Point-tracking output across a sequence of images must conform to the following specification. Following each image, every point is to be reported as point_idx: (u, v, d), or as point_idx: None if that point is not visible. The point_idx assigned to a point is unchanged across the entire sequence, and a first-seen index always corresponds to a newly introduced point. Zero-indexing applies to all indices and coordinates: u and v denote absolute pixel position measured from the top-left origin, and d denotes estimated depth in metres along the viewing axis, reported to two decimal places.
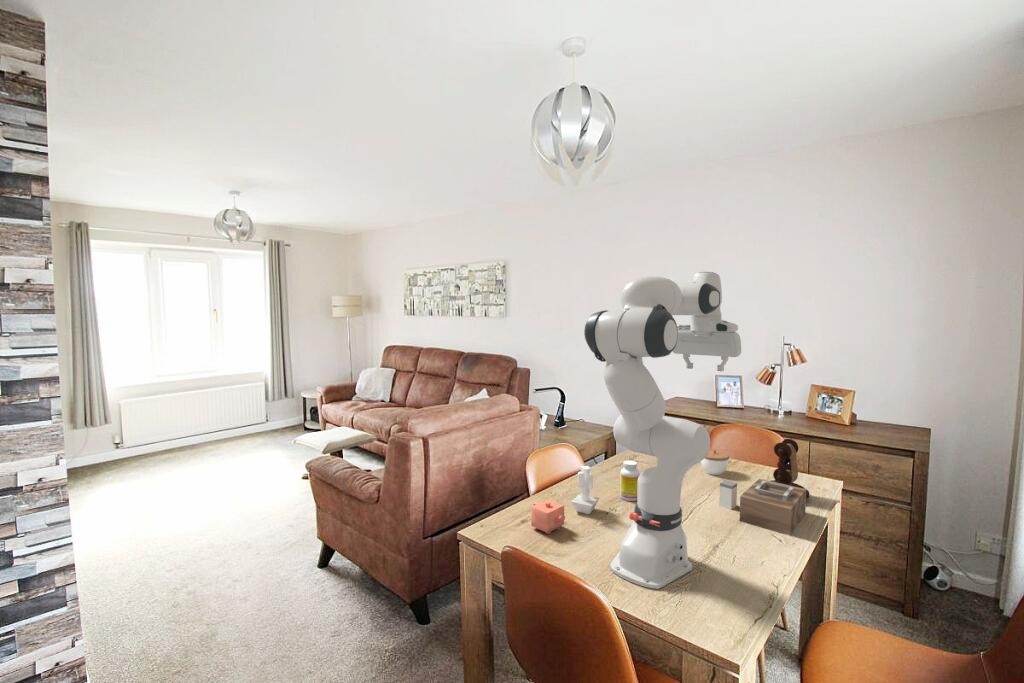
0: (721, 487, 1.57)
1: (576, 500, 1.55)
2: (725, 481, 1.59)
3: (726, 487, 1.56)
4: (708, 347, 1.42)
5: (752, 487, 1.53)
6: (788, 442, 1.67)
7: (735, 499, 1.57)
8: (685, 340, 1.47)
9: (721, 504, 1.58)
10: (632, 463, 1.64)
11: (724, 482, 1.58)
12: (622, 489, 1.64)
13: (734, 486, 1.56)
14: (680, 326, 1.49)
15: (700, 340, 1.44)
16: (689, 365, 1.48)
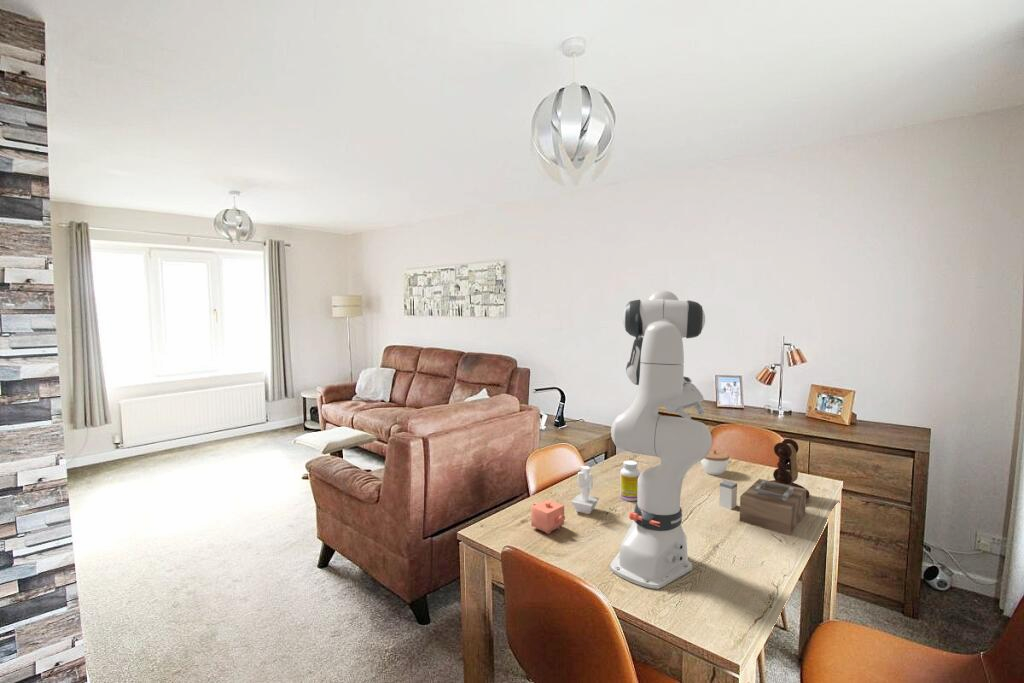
0: (721, 487, 1.57)
1: (576, 500, 1.55)
2: (725, 481, 1.59)
3: (726, 487, 1.56)
4: (689, 396, 1.68)
5: (752, 487, 1.53)
6: (788, 442, 1.67)
7: (735, 499, 1.57)
8: None
9: (721, 504, 1.58)
10: (632, 463, 1.64)
11: (724, 482, 1.58)
12: (622, 489, 1.64)
13: (734, 486, 1.56)
14: None
15: (681, 393, 1.68)
16: (689, 415, 1.62)
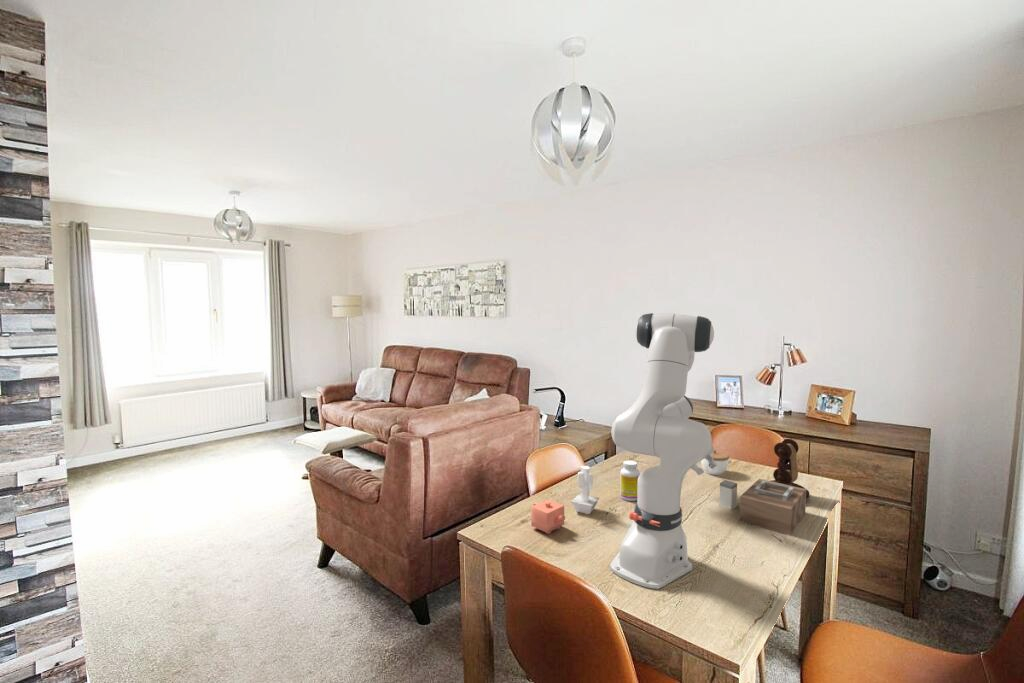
0: (721, 487, 1.57)
1: (576, 500, 1.55)
2: (725, 481, 1.59)
3: (726, 487, 1.56)
4: None
5: (752, 487, 1.53)
6: (788, 442, 1.67)
7: (735, 499, 1.57)
8: None
9: (721, 504, 1.58)
10: (632, 463, 1.64)
11: (724, 482, 1.58)
12: (622, 489, 1.64)
13: (734, 486, 1.56)
14: None
15: None
16: (701, 469, 1.60)
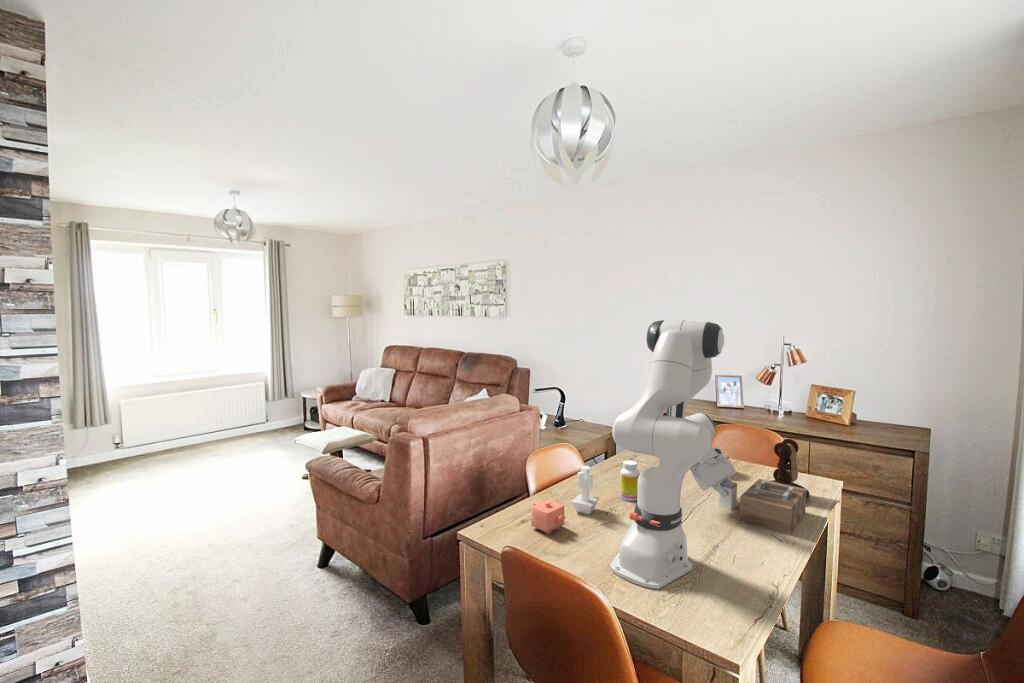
0: None
1: (576, 500, 1.55)
2: (725, 481, 1.59)
3: (726, 487, 1.56)
4: (721, 471, 1.61)
5: (752, 487, 1.53)
6: (788, 442, 1.67)
7: (735, 499, 1.57)
8: (707, 472, 1.57)
9: (721, 504, 1.58)
10: (632, 463, 1.64)
11: (724, 482, 1.58)
12: (622, 489, 1.64)
13: (734, 486, 1.56)
14: None
15: (713, 468, 1.60)
16: (726, 491, 1.56)
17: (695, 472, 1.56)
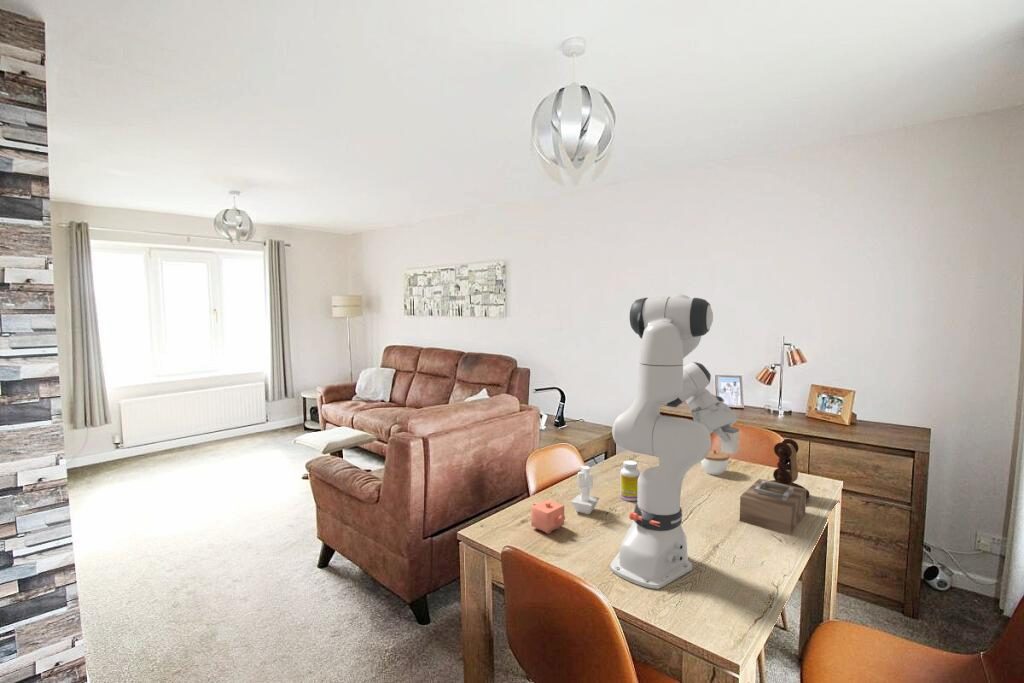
0: None
1: (576, 500, 1.55)
2: (727, 427, 1.57)
3: (728, 432, 1.55)
4: (723, 417, 1.59)
5: (752, 487, 1.53)
6: (788, 442, 1.67)
7: (737, 444, 1.56)
8: (709, 417, 1.56)
9: (723, 450, 1.56)
10: (632, 463, 1.64)
11: (726, 427, 1.57)
12: (622, 489, 1.64)
13: (736, 431, 1.55)
14: (694, 409, 1.57)
15: (715, 414, 1.59)
16: (728, 436, 1.54)
17: (696, 417, 1.54)
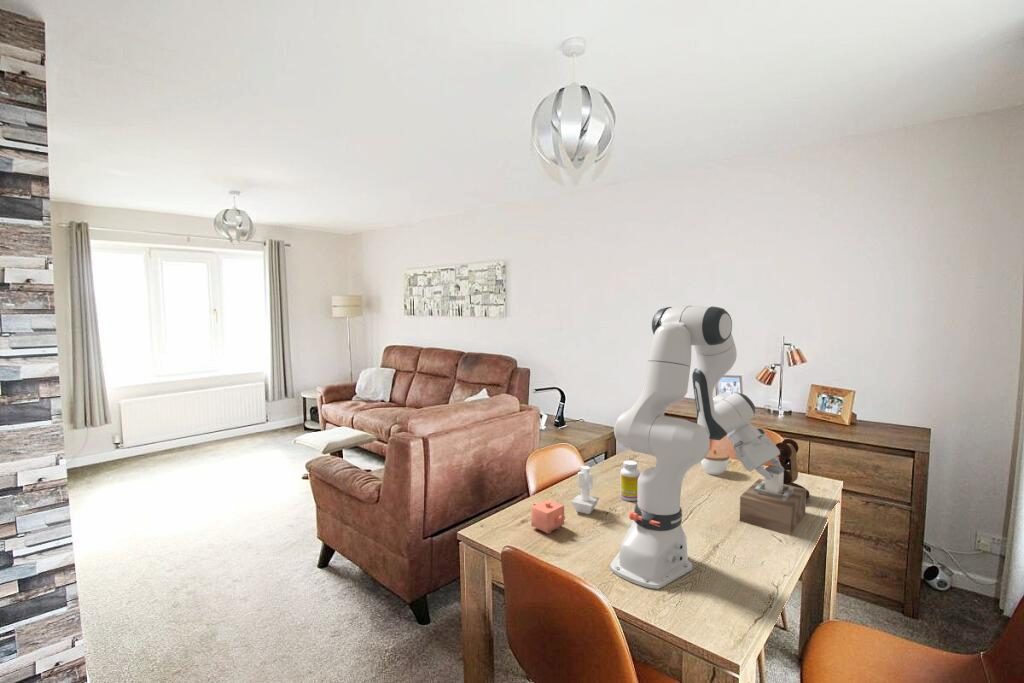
0: None
1: (576, 500, 1.55)
2: (770, 466, 1.50)
3: (772, 473, 1.47)
4: (766, 452, 1.52)
5: (752, 487, 1.53)
6: (788, 442, 1.67)
7: (782, 485, 1.48)
8: (752, 452, 1.48)
9: None
10: (632, 463, 1.64)
11: (770, 467, 1.49)
12: (622, 489, 1.64)
13: (781, 471, 1.47)
14: (737, 443, 1.49)
15: (758, 448, 1.51)
16: (770, 474, 1.45)
17: (740, 452, 1.47)
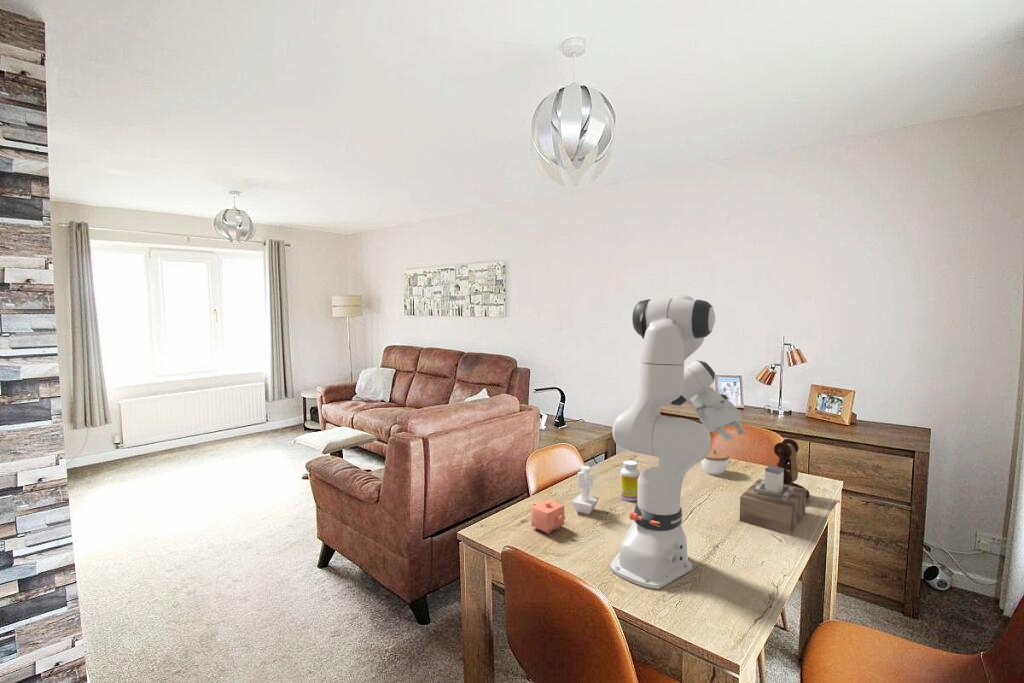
0: (767, 473, 1.48)
1: (576, 500, 1.55)
2: (770, 466, 1.50)
3: (772, 473, 1.47)
4: (728, 415, 1.60)
5: (752, 487, 1.53)
6: (788, 442, 1.67)
7: (782, 485, 1.48)
8: (714, 415, 1.57)
9: None
10: (632, 463, 1.64)
11: (770, 467, 1.49)
12: (622, 489, 1.64)
13: (781, 471, 1.47)
14: (699, 407, 1.58)
15: (720, 412, 1.60)
16: (730, 435, 1.54)
17: (701, 414, 1.56)
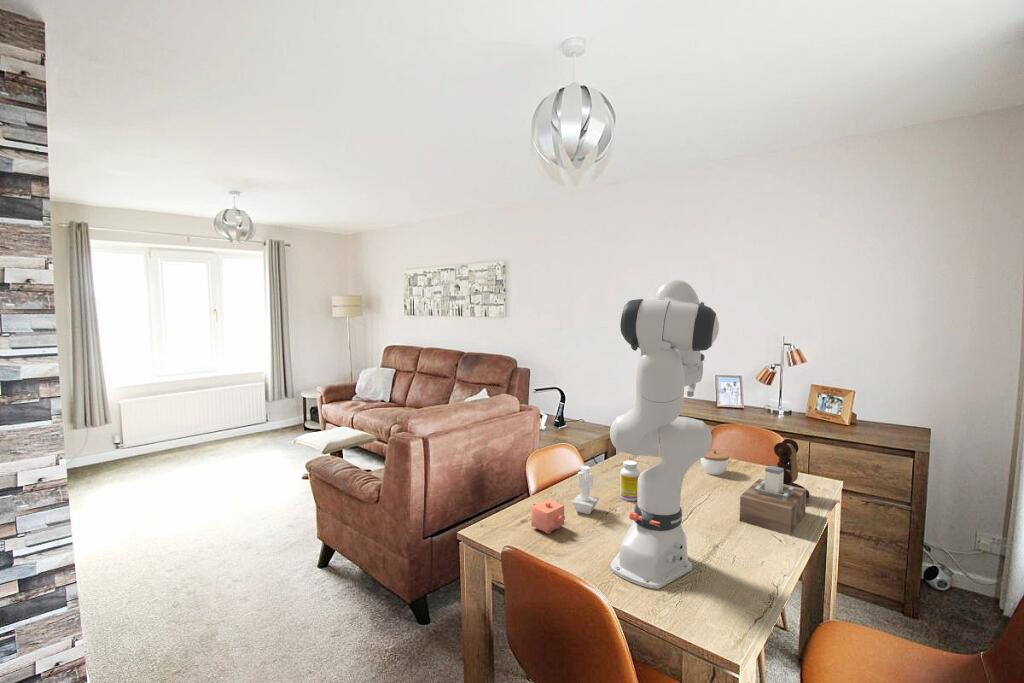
0: (767, 473, 1.48)
1: (576, 500, 1.55)
2: (770, 466, 1.50)
3: (772, 473, 1.47)
4: (692, 377, 1.54)
5: (752, 487, 1.53)
6: (788, 442, 1.67)
7: (782, 485, 1.48)
8: None
9: None
10: (632, 463, 1.64)
11: (770, 467, 1.49)
12: (622, 489, 1.64)
13: (781, 471, 1.47)
14: None
15: (688, 371, 1.52)
16: None
17: None
